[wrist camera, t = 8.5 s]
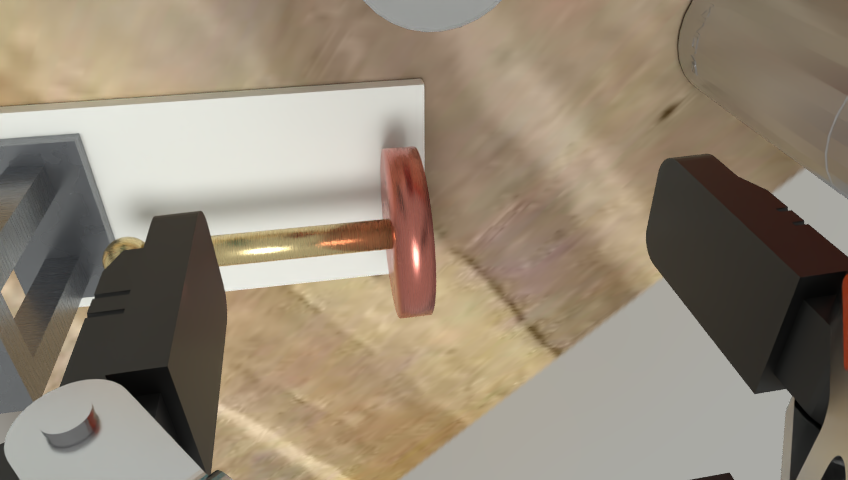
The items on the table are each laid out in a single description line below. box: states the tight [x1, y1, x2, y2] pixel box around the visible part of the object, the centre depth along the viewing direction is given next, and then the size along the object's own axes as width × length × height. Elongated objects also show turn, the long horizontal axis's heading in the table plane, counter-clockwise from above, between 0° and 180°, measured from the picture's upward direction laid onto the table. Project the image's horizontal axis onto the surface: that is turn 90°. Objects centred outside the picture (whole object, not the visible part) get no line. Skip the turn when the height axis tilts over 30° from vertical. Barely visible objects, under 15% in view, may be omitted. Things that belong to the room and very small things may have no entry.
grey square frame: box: [0, 133, 115, 414], centre depth 35 cm, size 6×11×12 cm, turn 1°
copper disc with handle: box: [102, 146, 436, 318], centre depth 37 cm, size 18×10×10 cm, turn 91°
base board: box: [0, 79, 425, 307], centre depth 42 cm, size 26×14×1 cm, turn 91°
